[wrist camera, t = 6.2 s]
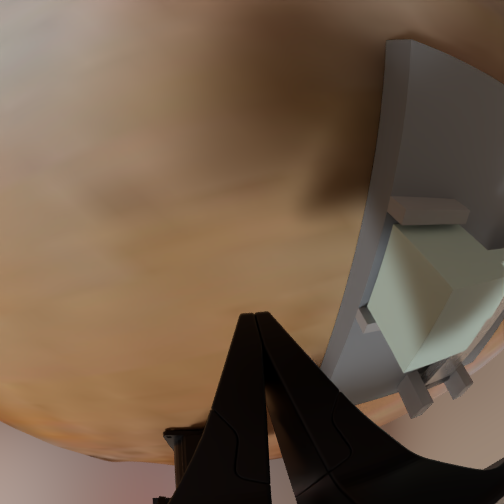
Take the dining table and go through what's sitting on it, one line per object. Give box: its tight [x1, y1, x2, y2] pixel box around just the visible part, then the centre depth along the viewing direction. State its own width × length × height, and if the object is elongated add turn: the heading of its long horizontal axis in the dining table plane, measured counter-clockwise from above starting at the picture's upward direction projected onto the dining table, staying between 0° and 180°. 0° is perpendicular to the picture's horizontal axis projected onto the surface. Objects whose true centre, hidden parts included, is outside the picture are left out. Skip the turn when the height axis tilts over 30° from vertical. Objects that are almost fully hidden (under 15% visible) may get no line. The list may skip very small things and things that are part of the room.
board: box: [320, 39, 504, 419], centre depth 13 cm, size 22×17×4 cm
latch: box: [367, 224, 504, 373], centre depth 10 cm, size 4×6×4 cm, turn 89°
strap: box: [421, 297, 504, 389], centre depth 14 cm, size 14×3×1 cm, turn 179°
